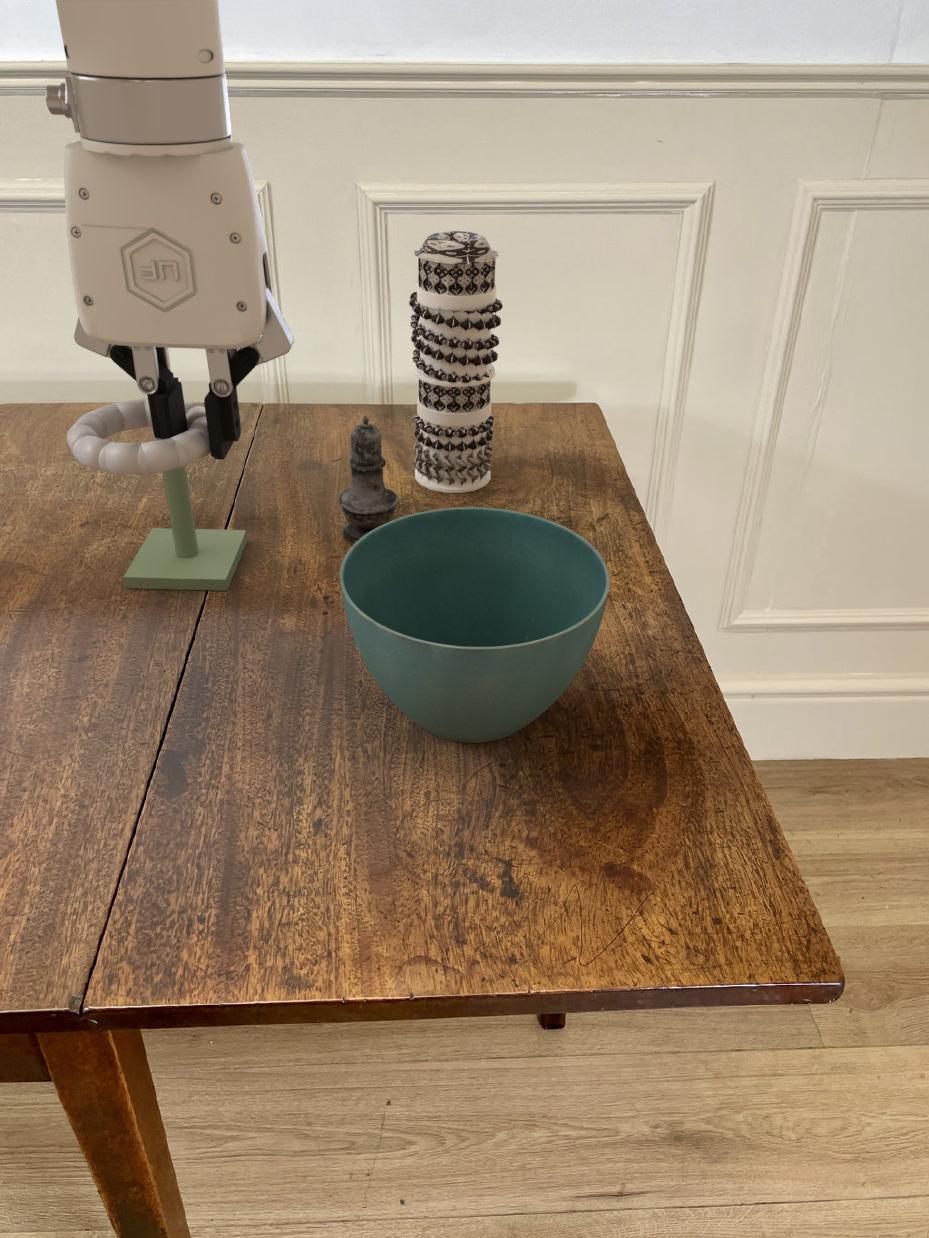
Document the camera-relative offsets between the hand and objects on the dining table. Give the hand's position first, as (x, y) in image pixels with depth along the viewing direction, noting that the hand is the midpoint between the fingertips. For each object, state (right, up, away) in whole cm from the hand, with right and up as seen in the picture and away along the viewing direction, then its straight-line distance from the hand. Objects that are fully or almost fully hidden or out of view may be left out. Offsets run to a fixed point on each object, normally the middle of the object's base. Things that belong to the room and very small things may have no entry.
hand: (200, 447), depth 58 cm
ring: (-3, +1, 0) cm, 3 cm away
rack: (-9, -6, +29) cm, 31 cm away
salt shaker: (+7, -2, +35) cm, 35 cm away
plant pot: (+17, -18, +12) cm, 27 cm away
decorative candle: (+15, +5, +45) cm, 48 cm away
